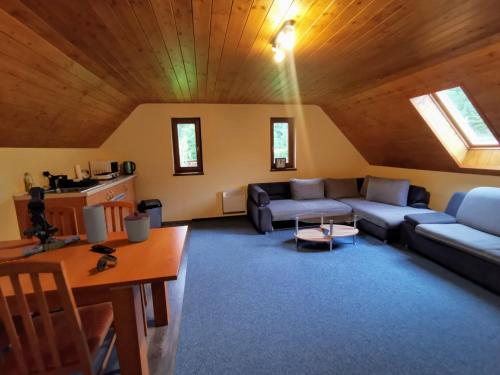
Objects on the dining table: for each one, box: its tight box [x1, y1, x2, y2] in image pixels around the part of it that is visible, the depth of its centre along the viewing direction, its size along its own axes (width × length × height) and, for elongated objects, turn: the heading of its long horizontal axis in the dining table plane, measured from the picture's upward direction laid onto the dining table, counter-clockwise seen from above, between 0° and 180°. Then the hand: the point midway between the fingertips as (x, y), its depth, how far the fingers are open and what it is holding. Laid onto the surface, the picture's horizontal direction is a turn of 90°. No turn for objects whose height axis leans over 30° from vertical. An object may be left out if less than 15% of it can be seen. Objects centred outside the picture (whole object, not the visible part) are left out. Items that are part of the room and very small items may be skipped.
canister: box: [122, 210, 151, 243], centre depth 178 cm, size 18×18×21 cm
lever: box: [34, 235, 56, 247], centre depth 164 cm, size 14×4×1 cm, turn 1°
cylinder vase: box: [82, 204, 108, 244], centre depth 180 cm, size 12×12×25 cm
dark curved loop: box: [95, 253, 118, 272], centre depth 137 cm, size 12×10×8 cm
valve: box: [21, 234, 81, 258], centre depth 170 cm, size 7×31×6 cm, turn 145°
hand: (44, 244), depth 160 cm, fingers closed
